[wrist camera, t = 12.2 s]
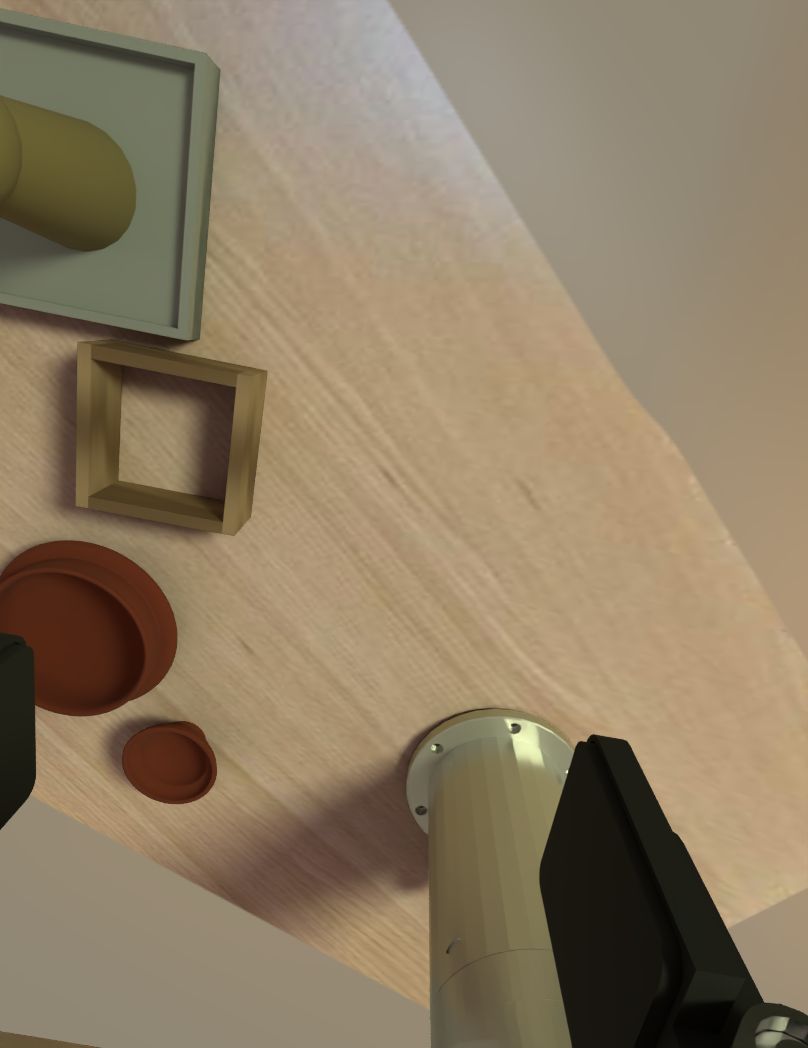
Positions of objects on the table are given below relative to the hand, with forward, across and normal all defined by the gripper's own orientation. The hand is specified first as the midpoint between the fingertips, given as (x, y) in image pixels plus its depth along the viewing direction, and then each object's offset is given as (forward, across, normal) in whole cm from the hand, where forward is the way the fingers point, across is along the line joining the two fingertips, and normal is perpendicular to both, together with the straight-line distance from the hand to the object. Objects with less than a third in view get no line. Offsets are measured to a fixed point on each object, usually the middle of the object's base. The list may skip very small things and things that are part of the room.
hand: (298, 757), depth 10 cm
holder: (+27, +12, 0) cm, 29 cm away
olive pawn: (+25, +18, -11) cm, 33 cm away
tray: (+26, +18, -12) cm, 34 cm away
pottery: (+28, +15, +17) cm, 36 cm away
